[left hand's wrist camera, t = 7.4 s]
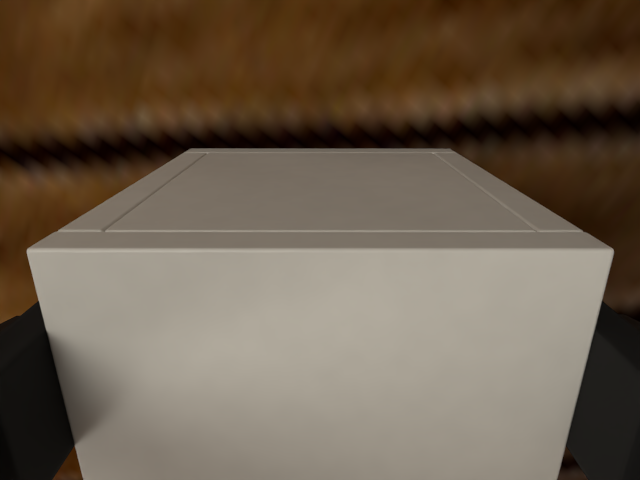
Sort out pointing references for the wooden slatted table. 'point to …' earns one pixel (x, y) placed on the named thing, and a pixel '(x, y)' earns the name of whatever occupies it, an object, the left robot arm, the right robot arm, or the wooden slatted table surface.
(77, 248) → the cabinet
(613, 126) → the wooden slatted table surface
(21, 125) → the wooden slatted table surface
